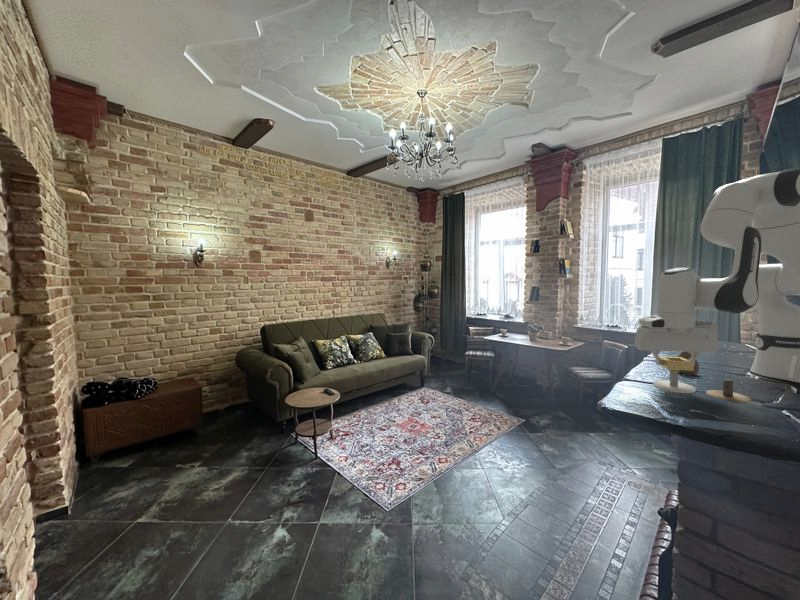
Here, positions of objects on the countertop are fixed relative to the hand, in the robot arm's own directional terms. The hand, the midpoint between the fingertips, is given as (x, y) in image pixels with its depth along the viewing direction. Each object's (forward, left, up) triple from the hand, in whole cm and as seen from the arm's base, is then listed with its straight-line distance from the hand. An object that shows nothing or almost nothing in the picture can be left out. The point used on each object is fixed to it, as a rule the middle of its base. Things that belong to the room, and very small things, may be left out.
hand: (674, 365), depth 97 cm
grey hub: (0, 0, -8) cm, 9 cm away
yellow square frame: (0, 0, -1) cm, 1 cm away
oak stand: (-11, +4, -8) cm, 14 cm away
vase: (-10, -19, -9) cm, 23 cm away
